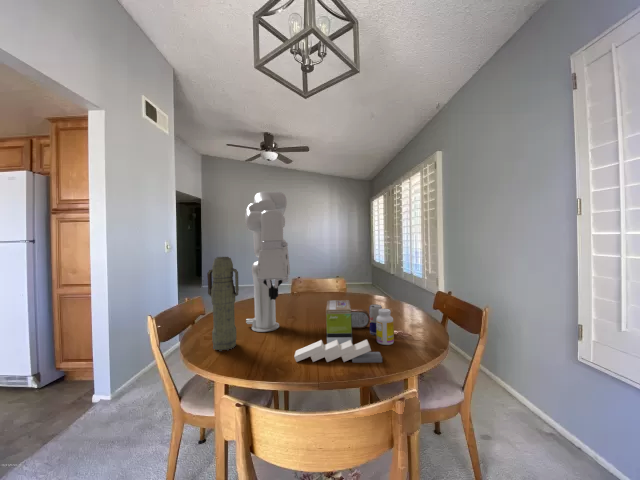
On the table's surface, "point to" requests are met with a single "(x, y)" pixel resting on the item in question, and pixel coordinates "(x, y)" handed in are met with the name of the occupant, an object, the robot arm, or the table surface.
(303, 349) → the domino
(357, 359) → the domino
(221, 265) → the thermos
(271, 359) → the table surface
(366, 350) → the domino
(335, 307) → the tea box
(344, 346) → the domino
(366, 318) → the tin
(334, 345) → the domino
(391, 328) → the supplement bottle
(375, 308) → the energy drink
